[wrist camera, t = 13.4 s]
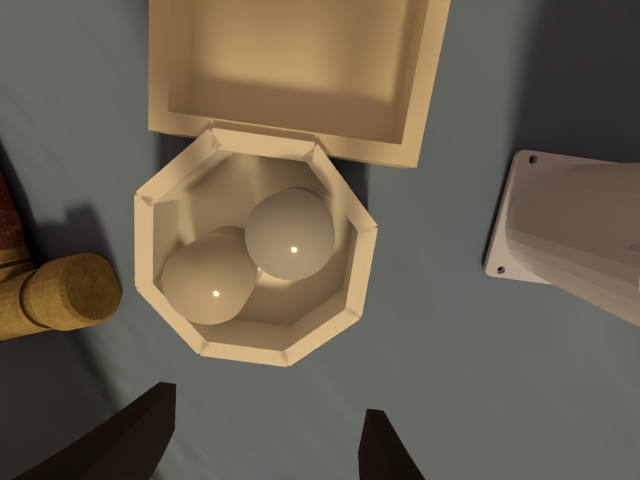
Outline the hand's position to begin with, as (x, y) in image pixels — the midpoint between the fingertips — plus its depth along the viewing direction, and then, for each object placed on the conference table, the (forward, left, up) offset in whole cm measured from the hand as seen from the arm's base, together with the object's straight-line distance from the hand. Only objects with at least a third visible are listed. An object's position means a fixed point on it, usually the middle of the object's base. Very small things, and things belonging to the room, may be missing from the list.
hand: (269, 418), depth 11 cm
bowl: (+3, -4, -10) cm, 11 cm away
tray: (+2, -18, -10) cm, 20 cm away
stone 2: (+1, -6, -9) cm, 11 cm away
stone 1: (+5, -3, -9) cm, 11 cm away
